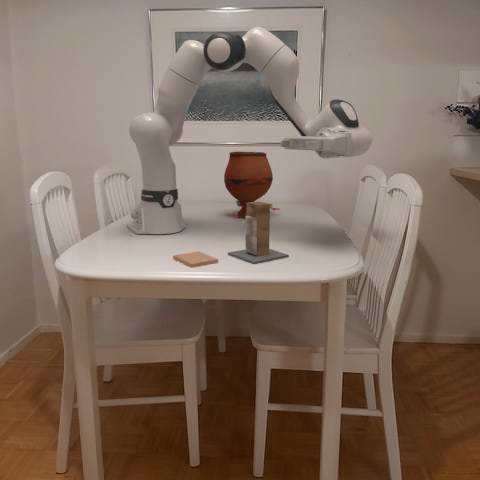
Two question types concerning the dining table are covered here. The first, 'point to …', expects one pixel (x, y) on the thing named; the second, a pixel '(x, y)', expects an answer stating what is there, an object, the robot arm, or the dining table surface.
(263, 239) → the tall wooden block
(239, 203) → the smartphone
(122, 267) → the dining table surface
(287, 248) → the dining table surface
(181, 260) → the tile
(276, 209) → the key
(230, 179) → the goblet
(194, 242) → the dining table surface
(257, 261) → the rest mat
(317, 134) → the robot arm
